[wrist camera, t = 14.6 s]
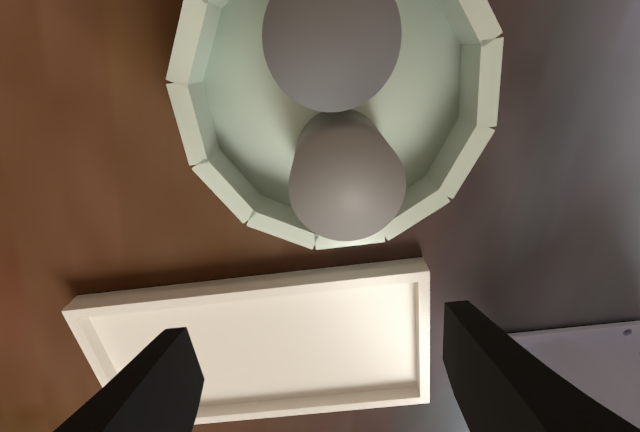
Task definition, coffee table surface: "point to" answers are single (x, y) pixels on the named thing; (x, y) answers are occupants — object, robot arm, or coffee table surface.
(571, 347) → the robot arm
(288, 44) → the pebble
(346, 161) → the pebble
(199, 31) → the celadon bowl
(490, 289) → the coffee table surface
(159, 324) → the parts tray
